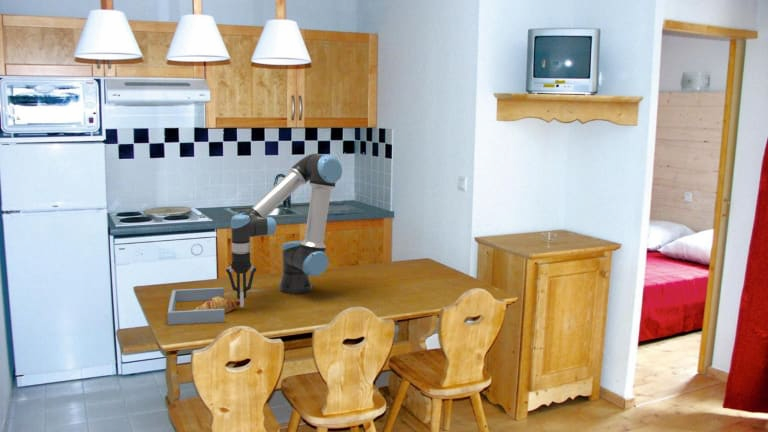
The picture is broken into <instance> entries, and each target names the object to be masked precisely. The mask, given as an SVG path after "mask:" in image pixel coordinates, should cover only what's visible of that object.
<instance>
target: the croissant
mask: <svg viewBox="0 0 768 432" xmlns="http://www.w3.org/2000/svg"><path fill="white" fill-rule="evenodd" d="M238 307H240V300H235V299H229V298H225V297H224V298H223V297H218V296H217V297H214V298H212V299H211V300H206V301H205V302H204V303H202V304H201V305H198V306H197V307H196V308H195V309H193V310H209V309H224V313H225V314H226V313H228V312H232V311H233V310H235V309H237V308H238Z"/></svg>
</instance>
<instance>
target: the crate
mask: <svg viewBox="0 0 768 432" xmlns="http://www.w3.org/2000/svg"><path fill="white" fill-rule="evenodd" d="M224 290H225V288H224V287H210V288H209V287H207V288H205V287H204V288H188V289H187V288H186V289H172V290H171V295H170V299H169V303H168V310H167V325H168V326H169V325H170V326H172V325H174V326H175V325H190V324H205V323H207V324H208V323H210V324H211V323H224V322H226V321H225V320H226V319H225V318H226V317H225V316H226V315H225V314H226V313H224V309H209V310H194V309H192V310H175V309H176V305H177V302H195V301H198V302H199V301H210V300H211V299H212V298H214V297H217V296H218V297H223V298H225V295H224V294H225V293H224Z"/></svg>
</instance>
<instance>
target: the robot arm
mask: <svg viewBox="0 0 768 432" xmlns="http://www.w3.org/2000/svg"><path fill="white" fill-rule="evenodd" d="M342 175H343V167H342V163H341V162H340V160H338V159H337V158H336V157H334V156H331V155H325V154H319V153H311V154H308V155H306V156H304V157H303V158H301V159H300V160H298V161H297V162H296V163H295V164H294V165H293V166H292V167H290V168H289V173H287V174H286V175H285V176H284V177H283V178H281V180H280V181H279V182H278V183H277V184H276V185H275V186H274V187H273V188H271V189H270V190H269V191H268V192H266V194H265V195H264V196H263V197H261V199H260V200H258V202H256V203H255V204H254V205H253V206H252V207H251V208H250V209H249V210H248V211H245V212H241V213H239V214H236V215H232V217H231V221H230V222H231V223H230V228H231V264H230V266H229V267H226V268H225V272H226V273H227V275H228V277H229V281H230V285H231V288H232V290H233V291H235V292H236V298H237V299H238V300H239V302H240V305H239V307H240V308H243V307H244V306H245V305H244V304H245V300H244V299H247V291H249V290H251V288H252V283H253V280H254V275H255V273H256V271H257V267H256V266H253V264H252V262H251V253H250V251H251V238H253V237H261V236H265V237H266V236H270V235H274V234H275V233H276V231H277V221H276V219H275V218H274V217H270V214H271V213H273V212H274V211H275V210H276V209H277V208H278V207H279V206H280V205H281V204H282V203H283V202H284V201H286V199H287V198H288V197H290V196H291V195H292V194H293V193H294V192H295V191H296V190H298V188H299V187H300V186H301V185H302V186H303V185H306V184H307V183H309V185H310V186H311V193H310V200H309V208H308V213H307V220H306V228H305V233H304V234H305V235H304V239H303V240H294V241H287V242H284V243H283V245H282V249H281V250H282V275H281V278H280V282H279V284H278V287H279V288H278V289H279V292H281V293H285V294H292V295H297V294H298V295H299V294H306V293H309V292H311V291H312V282H311V279H310V276H312V277H317V276H320V275H322V274H323V273H324V272H325V271H326V270H327V268H328V267H329V262H330V261H329V257H328V255H327V254H326V251H327V250H326V249H327V247H326V244H325V243H324V240H325V233H326V228H327V227H326V226H327V219H328V212H329V207H330V199H331V195H332V194H331V193H332V190H333V189H334V188H336V185H337V184H336V183H337V182H338V181H339V180H340V179H341V178H342ZM268 216H269V217H268ZM233 271H234V273H235V274H236V285H235V281H234V277H233V274H232V272H233ZM249 271H250V275H249V279H248V282H247V273H248V272H249ZM241 274H242V290H241Z"/></svg>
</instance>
